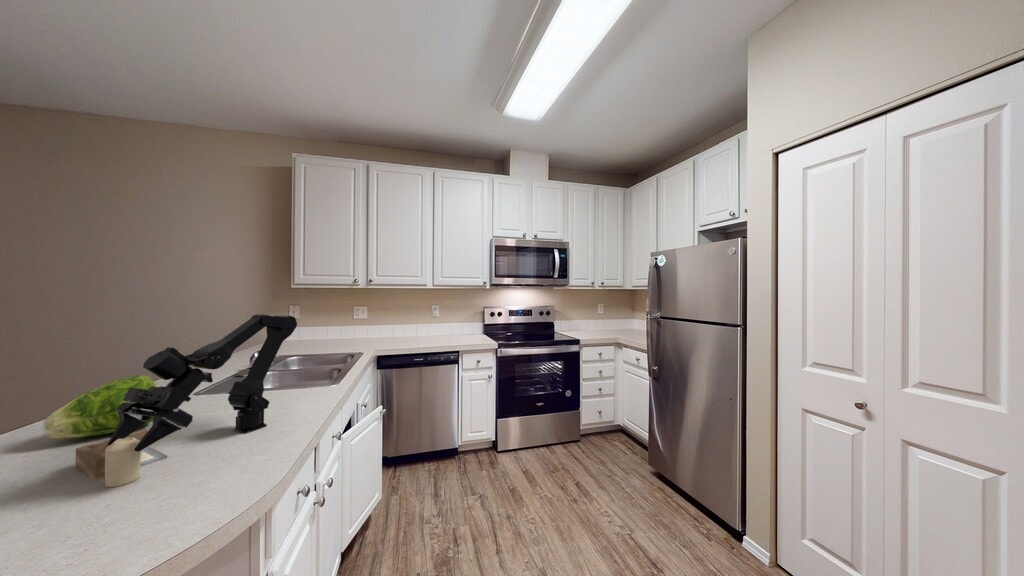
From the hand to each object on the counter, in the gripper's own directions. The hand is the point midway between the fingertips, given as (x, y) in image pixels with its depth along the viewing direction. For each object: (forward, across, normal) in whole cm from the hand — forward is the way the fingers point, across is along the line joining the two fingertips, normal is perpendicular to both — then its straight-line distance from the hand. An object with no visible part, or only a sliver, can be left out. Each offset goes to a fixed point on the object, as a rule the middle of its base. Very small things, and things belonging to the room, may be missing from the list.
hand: (122, 448), depth 79 cm
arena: (+2, -11, +9) cm, 15 cm away
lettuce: (-6, -39, +17) cm, 43 cm away
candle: (+6, 0, +6) cm, 8 cm away
